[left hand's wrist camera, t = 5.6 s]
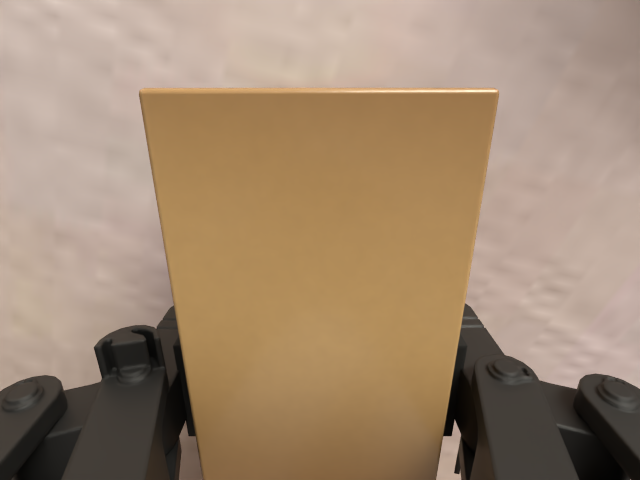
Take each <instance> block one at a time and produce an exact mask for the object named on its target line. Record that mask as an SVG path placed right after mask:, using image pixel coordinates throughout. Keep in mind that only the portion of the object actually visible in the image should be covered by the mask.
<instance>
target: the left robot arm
mask: <svg viewBox="0 0 640 480" xmlns="http://www.w3.org/2000/svg"><path fill="white" fill-rule="evenodd" d="M94 350H95V354H96V357H97V361H98V365H99V368H100V372H101V376H102V380H101V382H99V383H96V384H92V385H88V386H83V387H78V388H74V389H69V390H65V391H64V389H63V386H62V383H61V381H60V380H59V379H57V378H56V377H54V376H47V375H44V376H36V377H31V378H27V379H25V380H21V381H19V382H16V383H14V384H13V385H11V386H9V387H7V388H5V389H3V390H2V391H0V480H179V471H180V460H181V444H180V439H179V435H180V433H181V430H182V428H183V425H184V423H185V421H186V424H187V429H188V435H189V436H196V434H195V428H194V422H193V416H192V410H191V404H190V398H189V392H188V386H187V380H186V374H185V368H184V362H183V356H182V350H181V344H180V338H179V332H178V326H177V320H176V314H175V308H174V306H173V307H171V308H170V309H169V310H168V312H167V313H166V315H165V316H164V318H163V320H161V322H160V323H159V325H158V326H157V329H155V328H154V327H151V326H146V325H136V326H130V327H125V328H121V329H119V330H116V331H114V332H112V333H109V334H108V335H107V336H105V337H104V338H102V339H101V340H100V341H99V342H98V343H97V344H96V345H95V347H94ZM454 420H455V421H456V423H457V425H458V428H459V430H460V433H461V439H460V444H459V449H458V455H457V460H456V465H455V472H454V473H456V474H459V472H460V470H461V480H630V479H631V480H640V389H639V388H637V387H635V386H633V385H632V384H630V383H628V382H626V381H624V380H621V379H619V378H615V377H612V376H609V375H601V374H591V375H585V376H584V377H583V378H582V379H580V381H579V384H578V388H577V389H573V388H569V387H564V386H560V385H555V384H551V383H547V382H543V381H540V380H539V379H538V377H537V376H536V374H535V373H534V371H533V370H532V369H531V368H529V367H528V366H527V365H526V364H524V363H523V362H521V361H519V360H517V359H515V358H513V357H509V356H506V355H504V353H503V352H502V351H501V349H500V348H499V346H498V345H497V344H496V342H495V341H494V339H493V338H492V337H491V335H490V334H489V332H488V331H487V330H486V328H484V325H483V324H482V323H481V321H480V320H479V319H478V317H477V316H476V314H475V313H474V311H473V310H472V308H471V307H470V306H468V305H467V304H465V305H464V311H463V317H462V323H461V330H460V336H459V342H458V348H457V354H456V360H455V366H454V372H453V378H452V385H451V391H450V397H449V403H448V409H447V415H446V421H445V427H444V433H443V436H452V431H453V425H454Z"/></svg>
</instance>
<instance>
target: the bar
mask: <svg viewBox="0 0 640 480" xmlns="http://www.w3.org/2000/svg"><path fill="white" fill-rule="evenodd" d="M139 97H140V103H141V109H142V115H143V121H144V127H145V133H146V139H147V145H148V151H149V157H150V163H151V169H152V175H153V181H154V187H155V193H156V199H157V205H158V211H159V217H160V223H161V229H162V235H163V241H164V247H165V253H166V260H167V266H168V272H169V278H170V284H171V290H172V296H173V302H174V308H175V314H176V320H177V326H178V332H179V338H180V344H181V350H182V356H183V362H184V368H185V374H186V380H187V386H188V392H189V398H190V404H191V410H192V416H193V422H194V428H195V434H196V440H197V446H198V452H199V458H200V464H201V470H202V476H203V480H436V476H437V470H438V464H439V458H440V452H441V446H442V440H443V433H444V427H445V421H446V415H447V409H448V403H449V397H450V391H451V385H452V378H453V372H454V366H455V360H456V354H457V348H458V342H459V336H460V330H461V323H462V317H463V311H464V305H465V299H466V293H467V287H468V281H469V275H470V269H471V262H472V256H473V250H474V244H475V238H476V232H477V226H478V220H479V214H480V207H481V201H482V195H483V189H484V183H485V177H486V171H487V165H488V159H489V152H490V146H491V140H492V134H493V128H494V122H495V116H496V110H497V104H498V97H499V91H498V90H497V89H495V88H143V89H141V90H140V91H139Z"/></svg>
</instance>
